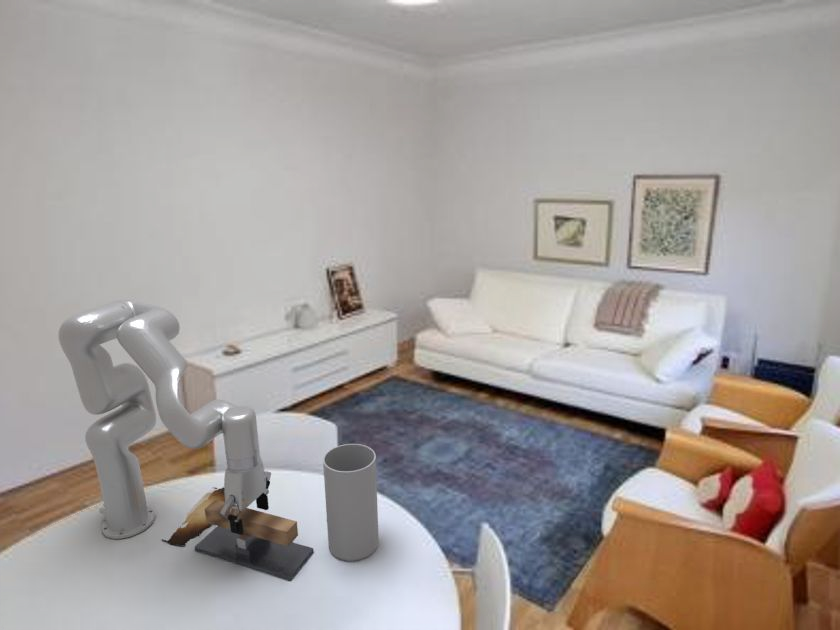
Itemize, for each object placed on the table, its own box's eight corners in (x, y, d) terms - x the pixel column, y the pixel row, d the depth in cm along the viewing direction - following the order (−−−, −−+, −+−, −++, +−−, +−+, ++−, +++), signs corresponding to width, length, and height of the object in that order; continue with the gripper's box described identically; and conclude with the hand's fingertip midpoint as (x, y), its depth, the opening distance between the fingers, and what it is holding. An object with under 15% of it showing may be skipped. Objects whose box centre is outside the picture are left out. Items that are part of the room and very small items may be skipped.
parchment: (213, 487, 161) (212, 484, 160) (243, 490, 159) (242, 487, 158) (158, 545, 138) (157, 542, 137) (192, 549, 136) (192, 547, 135)
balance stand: (194, 550, 135) (191, 528, 133) (222, 525, 144) (219, 504, 142) (290, 581, 125) (288, 557, 123) (313, 552, 134) (311, 529, 132)
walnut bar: (206, 522, 135) (204, 508, 134) (217, 512, 138) (215, 499, 137) (288, 546, 126) (287, 531, 125) (298, 535, 130) (296, 521, 129)
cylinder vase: (347, 570, 128) (342, 478, 121) (319, 543, 137) (313, 456, 130) (388, 545, 136) (386, 458, 129) (359, 521, 145) (356, 438, 138)
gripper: (253, 438, 136) (259, 496, 141) (204, 475, 120) (213, 539, 125) (278, 443, 133) (284, 502, 138) (231, 482, 118) (239, 547, 123)
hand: (250, 520), depth 132 cm, fingers open, 9 cm apart
